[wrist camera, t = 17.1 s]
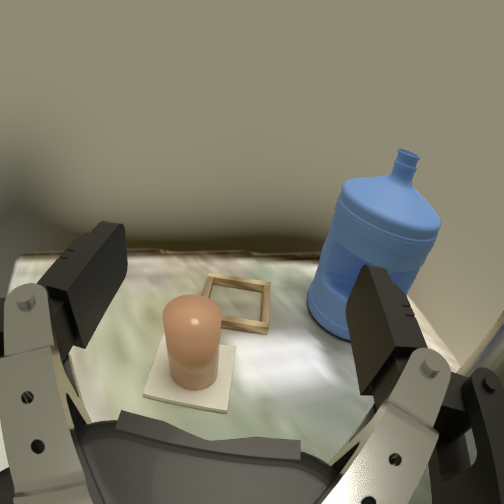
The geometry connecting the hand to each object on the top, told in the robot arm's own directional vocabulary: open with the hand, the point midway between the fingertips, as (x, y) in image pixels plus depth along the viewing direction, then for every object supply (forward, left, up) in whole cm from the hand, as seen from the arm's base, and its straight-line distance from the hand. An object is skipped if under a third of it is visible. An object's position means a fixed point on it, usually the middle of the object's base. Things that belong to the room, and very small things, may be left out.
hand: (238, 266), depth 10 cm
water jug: (-19, -31, -28) cm, 46 cm away
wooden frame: (0, -28, -28) cm, 40 cm away
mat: (+4, -14, -28) cm, 32 cm away
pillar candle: (+4, -15, -27) cm, 31 cm away
